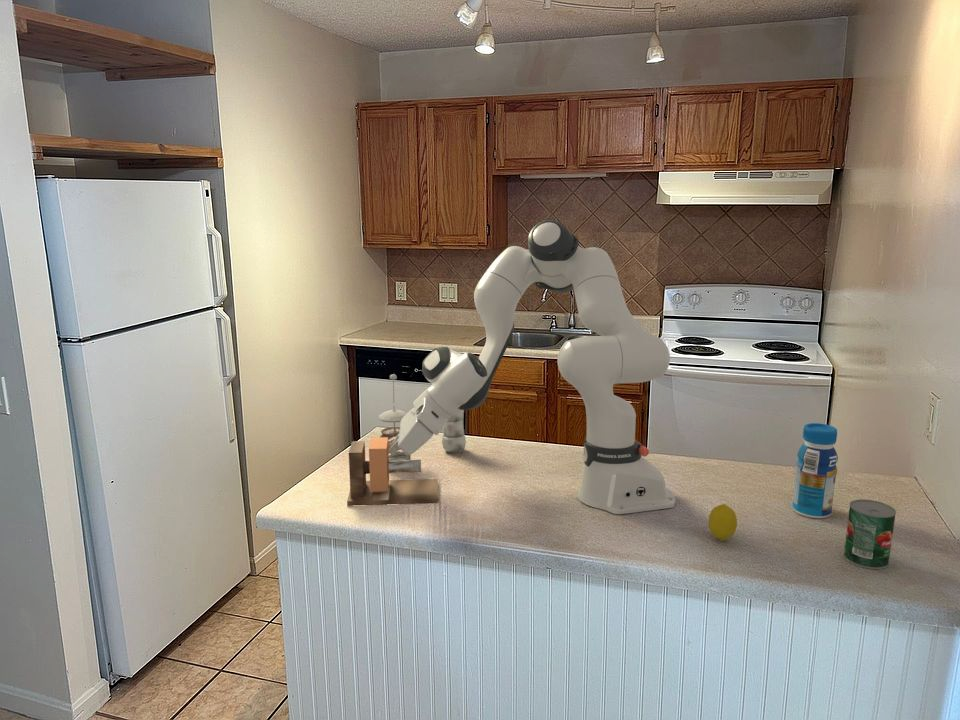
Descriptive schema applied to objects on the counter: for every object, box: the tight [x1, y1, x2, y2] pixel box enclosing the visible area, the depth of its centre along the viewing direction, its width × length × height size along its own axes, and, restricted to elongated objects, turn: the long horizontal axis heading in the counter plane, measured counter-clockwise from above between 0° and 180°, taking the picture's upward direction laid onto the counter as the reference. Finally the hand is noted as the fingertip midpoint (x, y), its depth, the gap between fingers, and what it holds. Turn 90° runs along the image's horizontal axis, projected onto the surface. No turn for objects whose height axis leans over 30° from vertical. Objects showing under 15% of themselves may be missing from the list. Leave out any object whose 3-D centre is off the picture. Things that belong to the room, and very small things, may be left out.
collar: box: [368, 437, 390, 492], centre depth 169 cm, size 4×8×10 cm, turn 4°
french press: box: [378, 373, 412, 460], centre depth 187 cm, size 10×12×25 cm
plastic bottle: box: [441, 409, 467, 453], centre depth 198 cm, size 6×7×20 cm
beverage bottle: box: [791, 422, 839, 519], centre depth 159 cm, size 8×8×20 cm
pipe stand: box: [346, 440, 440, 507], centre depth 169 cm, size 21×12×12 cm, turn 94°
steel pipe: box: [364, 459, 422, 475], centre depth 169 cm, size 15×3×3 cm, turn 94°
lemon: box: [708, 503, 738, 541], centre depth 147 cm, size 6×6×8 cm
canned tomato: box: [843, 498, 897, 570], centre depth 139 cm, size 8×8×11 cm
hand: (390, 451), depth 168 cm, fingers closed, pressing on collar
